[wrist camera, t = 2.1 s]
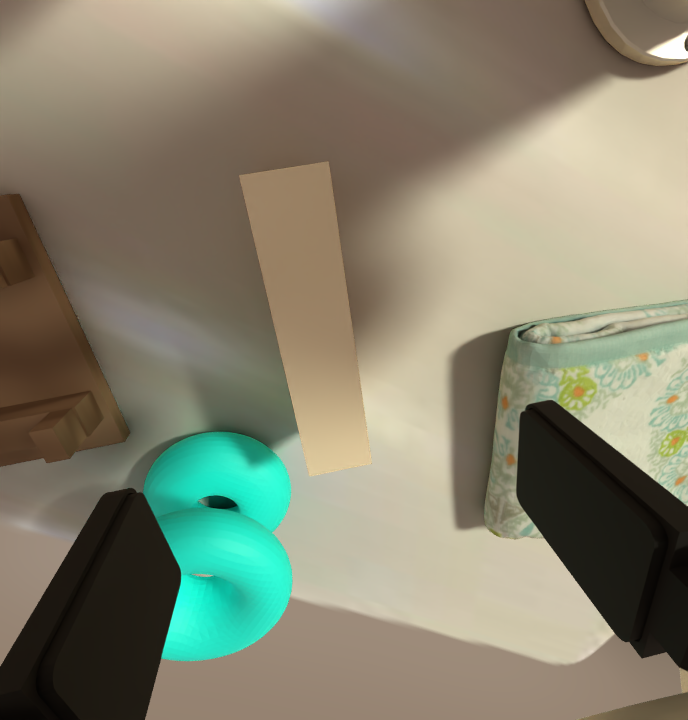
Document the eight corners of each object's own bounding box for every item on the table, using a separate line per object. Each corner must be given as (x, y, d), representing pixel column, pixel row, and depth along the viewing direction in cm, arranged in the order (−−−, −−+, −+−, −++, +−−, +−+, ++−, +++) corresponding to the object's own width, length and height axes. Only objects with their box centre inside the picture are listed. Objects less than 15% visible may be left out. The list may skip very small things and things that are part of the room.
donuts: (57, 653, 20) (130, 516, 17) (129, 505, 29) (185, 401, 26) (240, 685, 23) (327, 576, 20) (253, 544, 32) (314, 454, 29)
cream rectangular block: (252, 178, 21) (238, 175, 15) (316, 168, 21) (328, 161, 15) (303, 409, 27) (309, 476, 21) (352, 400, 28) (371, 463, 21)
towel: (692, 474, 36) (751, 516, 32) (474, 512, 34) (503, 563, 30) (762, 282, 29) (854, 300, 24) (488, 318, 27) (530, 345, 22)
